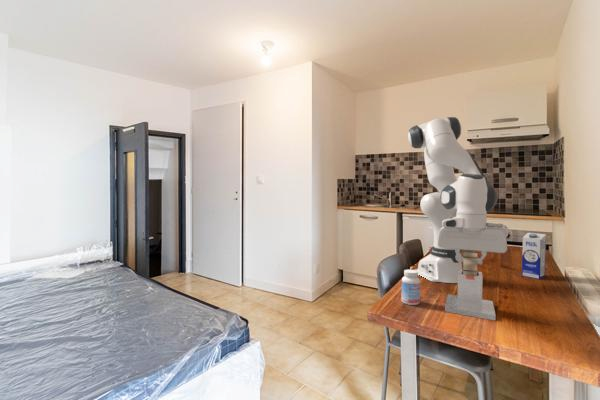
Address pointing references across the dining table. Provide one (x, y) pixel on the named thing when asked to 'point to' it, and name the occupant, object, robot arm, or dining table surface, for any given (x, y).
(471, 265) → the post
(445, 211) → the robot arm
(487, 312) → the sleeve
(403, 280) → the pill bottle
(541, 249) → the milk carton
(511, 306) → the dining table surface
